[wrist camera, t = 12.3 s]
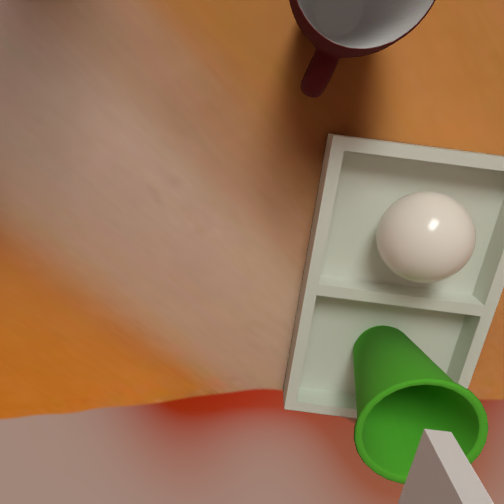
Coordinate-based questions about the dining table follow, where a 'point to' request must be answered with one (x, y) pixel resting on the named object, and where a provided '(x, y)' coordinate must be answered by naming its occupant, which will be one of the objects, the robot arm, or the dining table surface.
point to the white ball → (426, 236)
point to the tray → (381, 277)
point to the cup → (407, 403)
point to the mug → (351, 31)
